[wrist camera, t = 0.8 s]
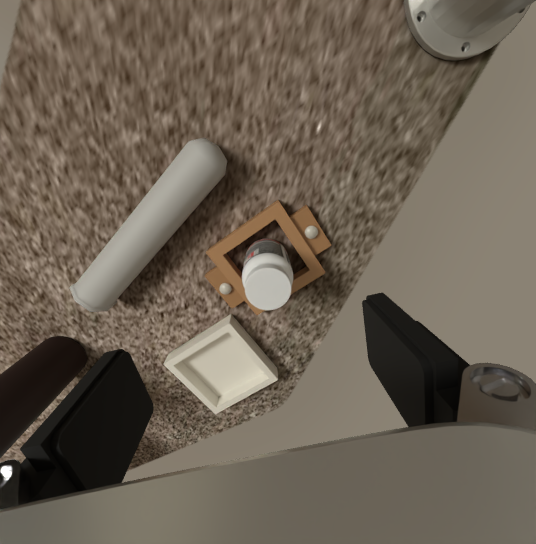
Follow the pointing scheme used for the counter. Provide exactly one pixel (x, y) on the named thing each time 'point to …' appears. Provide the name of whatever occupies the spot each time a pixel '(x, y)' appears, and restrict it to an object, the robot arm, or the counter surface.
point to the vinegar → (36, 385)
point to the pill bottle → (267, 274)
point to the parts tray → (222, 365)
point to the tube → (151, 224)
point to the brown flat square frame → (295, 226)
